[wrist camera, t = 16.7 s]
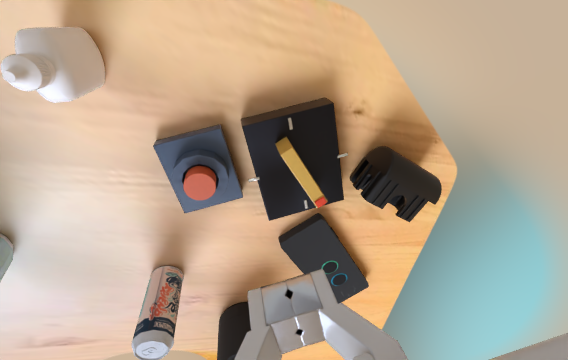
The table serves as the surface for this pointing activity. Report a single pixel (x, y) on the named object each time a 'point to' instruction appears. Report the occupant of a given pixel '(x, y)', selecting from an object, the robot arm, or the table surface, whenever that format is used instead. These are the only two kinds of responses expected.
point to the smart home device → (323, 256)
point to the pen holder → (233, 330)
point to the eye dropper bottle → (55, 63)
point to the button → (200, 183)
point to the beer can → (158, 314)
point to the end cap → (395, 182)
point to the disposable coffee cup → (5, 254)
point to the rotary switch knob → (300, 172)
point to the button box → (199, 152)
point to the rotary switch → (309, 146)
